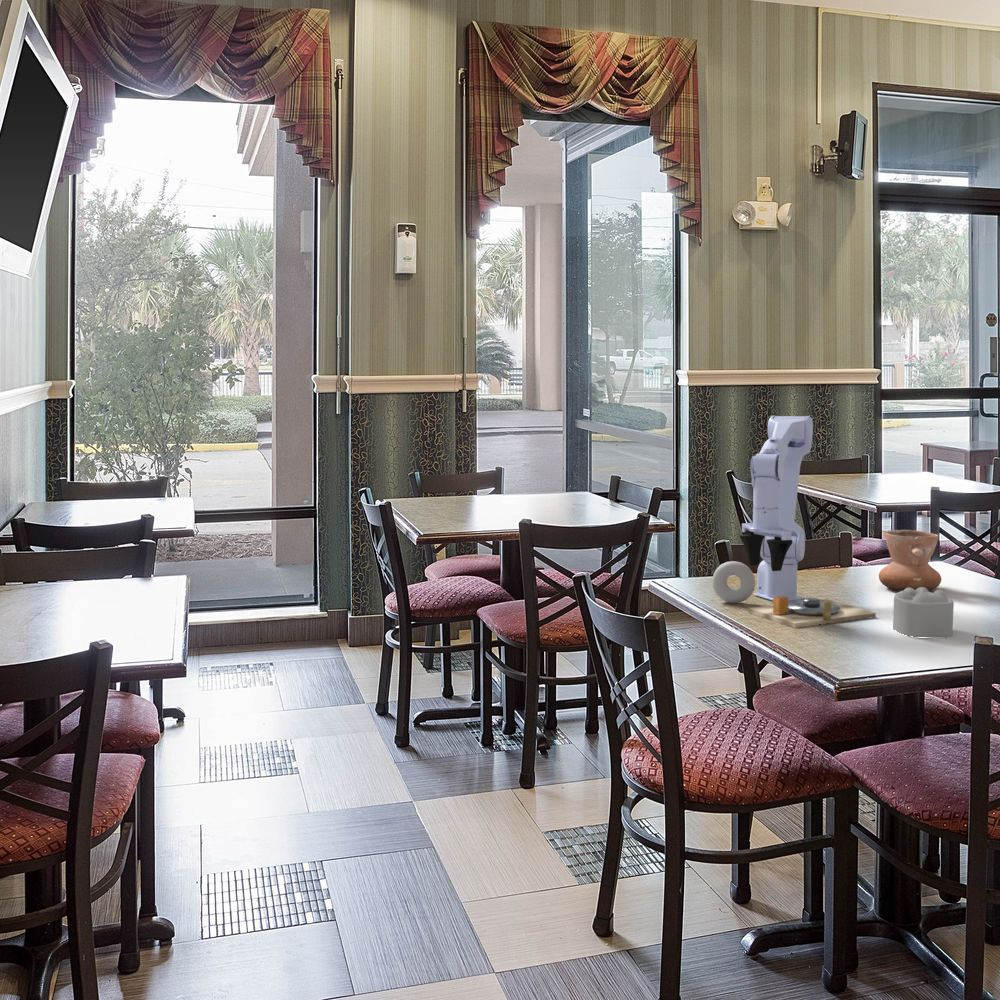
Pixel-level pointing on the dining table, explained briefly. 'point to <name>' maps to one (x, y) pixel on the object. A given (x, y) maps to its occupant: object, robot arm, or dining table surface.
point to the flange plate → (801, 606)
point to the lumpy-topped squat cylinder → (923, 613)
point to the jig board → (808, 620)
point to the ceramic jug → (910, 561)
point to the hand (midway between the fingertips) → (765, 567)
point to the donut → (740, 571)
